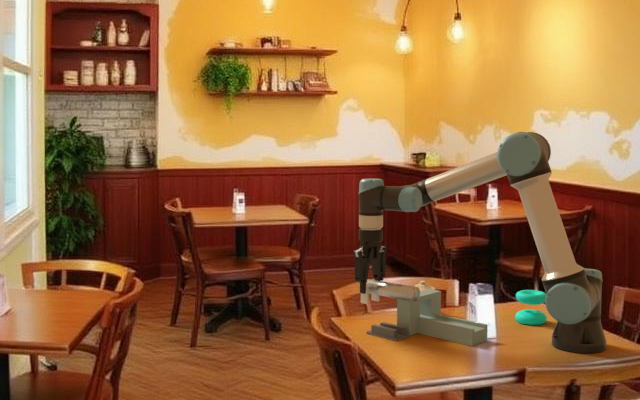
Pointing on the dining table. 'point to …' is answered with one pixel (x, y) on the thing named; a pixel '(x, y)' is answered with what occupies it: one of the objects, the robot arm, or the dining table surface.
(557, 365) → the dining table surface
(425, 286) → the teacup with lid
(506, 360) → the dining table surface
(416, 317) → the grey-green rectangular arch
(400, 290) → the dowel
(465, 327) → the shelf
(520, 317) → the donuts
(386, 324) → the cradle
